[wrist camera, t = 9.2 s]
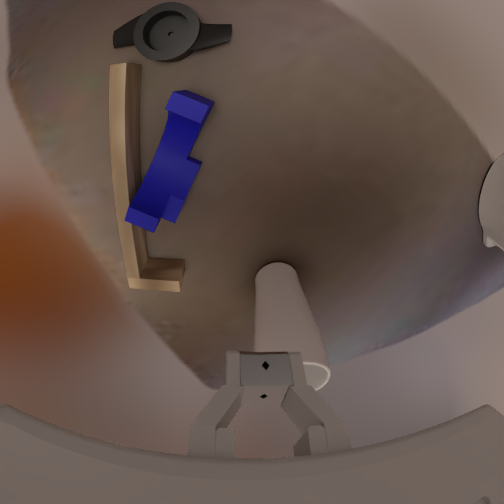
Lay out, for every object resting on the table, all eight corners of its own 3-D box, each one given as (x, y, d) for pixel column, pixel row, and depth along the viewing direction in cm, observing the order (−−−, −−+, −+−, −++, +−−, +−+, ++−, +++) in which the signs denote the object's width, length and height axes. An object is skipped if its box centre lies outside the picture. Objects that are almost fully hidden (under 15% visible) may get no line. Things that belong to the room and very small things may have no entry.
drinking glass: (311, 282, 36) (341, 382, 24) (265, 304, 38) (277, 405, 25) (287, 245, 33) (315, 352, 20) (238, 271, 34) (240, 380, 22)
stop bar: (187, 62, 21) (179, 58, 18) (184, 269, 34) (180, 291, 31) (126, 66, 20) (110, 65, 17) (138, 267, 33) (129, 288, 30)
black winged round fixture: (159, -14, 16) (152, -23, 13) (240, 32, 20) (240, 26, 17) (111, 45, 19) (98, 42, 17) (187, 92, 23) (182, 93, 20)
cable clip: (180, 210, 30) (169, 239, 25) (142, 194, 28) (124, 220, 23) (229, 108, 24) (227, 114, 19) (186, 90, 23) (173, 91, 18)
